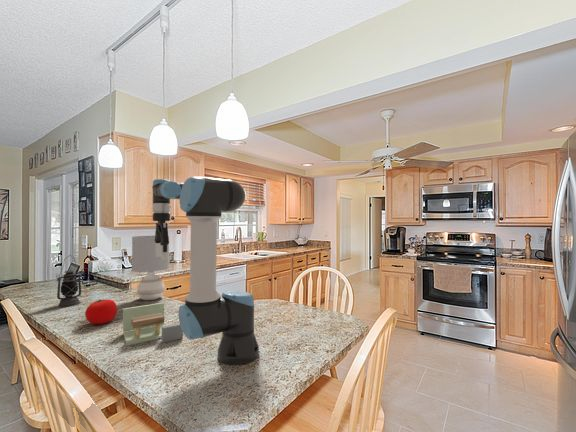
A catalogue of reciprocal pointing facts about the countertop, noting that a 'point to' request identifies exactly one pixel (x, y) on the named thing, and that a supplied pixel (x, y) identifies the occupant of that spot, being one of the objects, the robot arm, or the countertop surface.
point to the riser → (171, 332)
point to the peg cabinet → (145, 333)
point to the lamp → (148, 267)
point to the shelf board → (147, 320)
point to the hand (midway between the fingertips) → (161, 258)
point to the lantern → (69, 288)
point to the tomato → (101, 311)
